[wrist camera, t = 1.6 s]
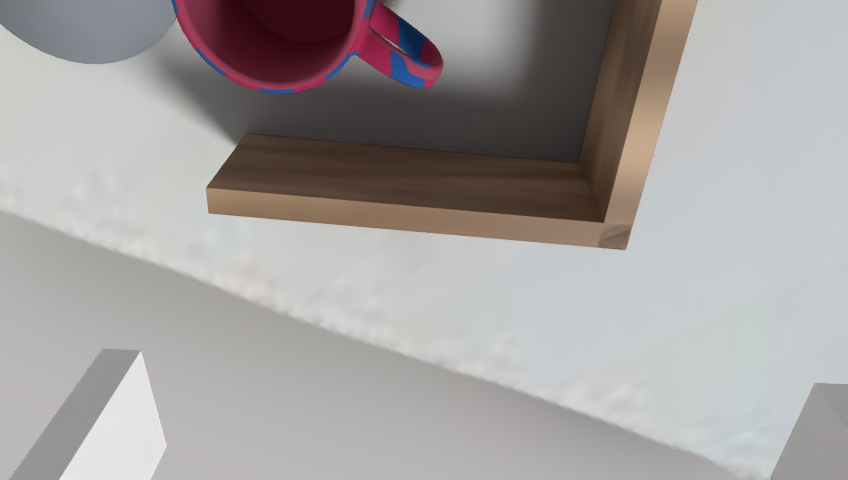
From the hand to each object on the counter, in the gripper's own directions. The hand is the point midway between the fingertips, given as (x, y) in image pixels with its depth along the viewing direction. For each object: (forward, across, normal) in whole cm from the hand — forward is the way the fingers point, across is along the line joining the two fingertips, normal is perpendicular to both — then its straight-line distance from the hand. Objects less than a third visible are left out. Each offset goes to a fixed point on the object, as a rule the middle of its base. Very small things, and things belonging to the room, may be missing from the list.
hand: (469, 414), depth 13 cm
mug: (+20, -6, +4) cm, 21 cm away
